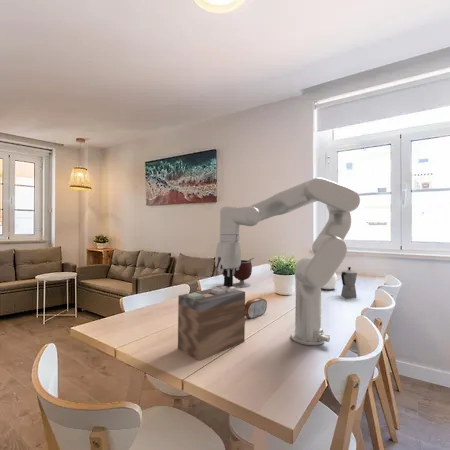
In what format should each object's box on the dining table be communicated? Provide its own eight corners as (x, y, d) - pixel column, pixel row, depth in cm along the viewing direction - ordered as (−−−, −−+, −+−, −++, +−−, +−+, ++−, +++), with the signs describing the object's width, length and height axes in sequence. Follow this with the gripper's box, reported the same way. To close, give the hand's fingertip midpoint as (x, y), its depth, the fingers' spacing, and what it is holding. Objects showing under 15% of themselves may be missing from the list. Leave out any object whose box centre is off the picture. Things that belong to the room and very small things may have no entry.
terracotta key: (214, 302, 105) (214, 295, 105) (206, 304, 102) (206, 297, 102) (207, 299, 108) (207, 293, 108) (199, 301, 105) (199, 295, 105)
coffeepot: (346, 292, 189) (347, 265, 189) (361, 295, 182) (362, 267, 181) (334, 296, 179) (334, 267, 179) (348, 299, 172) (349, 269, 172)
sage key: (202, 301, 101) (202, 294, 101) (194, 303, 98) (194, 296, 98) (195, 299, 104) (196, 292, 104) (187, 301, 101) (187, 294, 101)
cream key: (235, 293, 113) (235, 287, 112) (228, 295, 110) (228, 289, 110) (228, 291, 115) (228, 285, 115) (221, 293, 113) (221, 287, 113)
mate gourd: (229, 286, 202) (230, 257, 202) (234, 282, 215) (235, 255, 215) (251, 288, 198) (252, 259, 197) (255, 284, 211) (256, 256, 211)
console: (244, 341, 110) (245, 291, 110) (199, 360, 95) (200, 302, 95) (222, 332, 119) (223, 286, 119) (177, 348, 104) (178, 295, 103)
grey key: (225, 296, 109) (225, 289, 109) (218, 297, 106) (218, 291, 106) (218, 294, 111) (218, 287, 111) (211, 295, 109) (211, 289, 109)
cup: (319, 285, 210) (320, 266, 210) (339, 288, 202) (339, 268, 202) (313, 288, 199) (314, 269, 199) (333, 291, 192) (334, 271, 192)
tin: (262, 312, 146) (263, 295, 146) (267, 313, 144) (268, 296, 144) (242, 319, 136) (243, 301, 136) (247, 320, 134) (248, 302, 134)
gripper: (235, 237, 120) (234, 282, 120) (208, 238, 110) (207, 287, 110) (249, 238, 115) (248, 285, 115) (222, 240, 104) (221, 291, 105)
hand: (228, 286), depth 113 cm, fingers closed
